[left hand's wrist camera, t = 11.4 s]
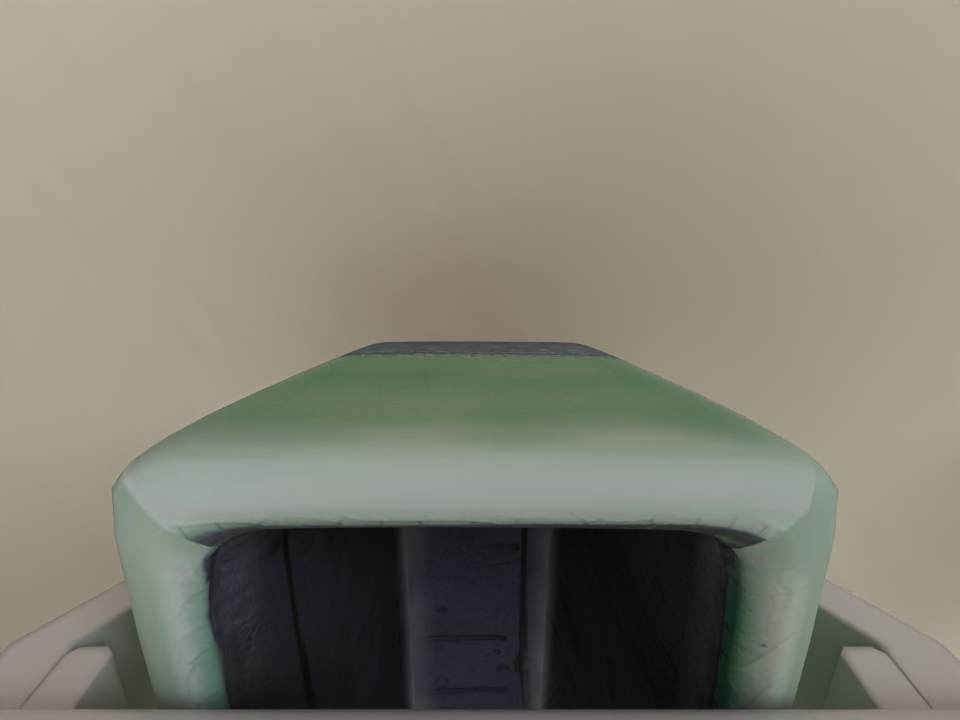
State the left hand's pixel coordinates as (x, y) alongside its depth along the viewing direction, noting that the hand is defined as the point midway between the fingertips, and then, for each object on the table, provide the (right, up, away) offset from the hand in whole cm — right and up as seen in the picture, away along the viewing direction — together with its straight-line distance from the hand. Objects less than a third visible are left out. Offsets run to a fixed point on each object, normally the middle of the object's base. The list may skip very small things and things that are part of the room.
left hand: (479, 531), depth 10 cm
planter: (0, -8, +6) cm, 10 cm away
